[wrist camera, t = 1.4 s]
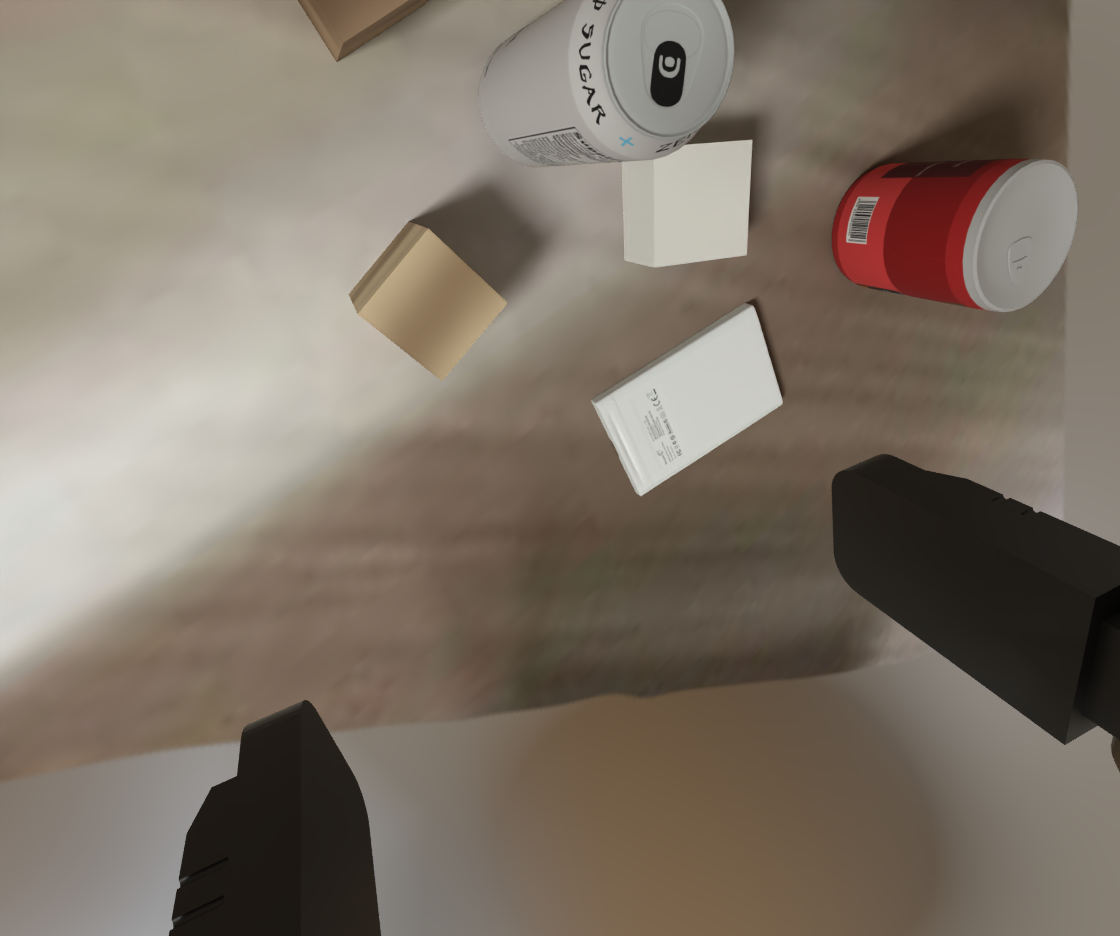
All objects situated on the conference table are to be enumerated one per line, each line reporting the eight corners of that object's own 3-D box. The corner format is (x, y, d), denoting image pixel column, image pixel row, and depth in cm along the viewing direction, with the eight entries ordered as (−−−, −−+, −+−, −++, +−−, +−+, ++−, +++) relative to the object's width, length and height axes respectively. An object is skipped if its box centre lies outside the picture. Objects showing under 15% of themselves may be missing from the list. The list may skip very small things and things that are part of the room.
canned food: (846, 308, 46) (986, 340, 37) (812, 207, 42) (960, 215, 33) (927, 244, 47) (1086, 260, 37) (901, 139, 43) (1073, 127, 33)
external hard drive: (770, 398, 48) (631, 489, 47) (740, 300, 44) (587, 397, 42) (784, 405, 47) (642, 498, 45) (754, 305, 42) (597, 404, 41)
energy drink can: (587, 46, 34) (764, -37, 21) (578, 172, 36) (733, 166, 23) (474, 27, 32) (595, -78, 19) (472, 162, 34) (578, 150, 21)
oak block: (348, 294, 34) (357, 314, 29) (408, 221, 34) (428, 228, 29) (421, 353, 37) (442, 381, 32) (478, 285, 37) (507, 302, 32)
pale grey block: (620, 150, 37) (653, 147, 33) (711, 143, 38) (752, 139, 35) (623, 260, 39) (654, 267, 36) (708, 249, 41) (746, 255, 38)
